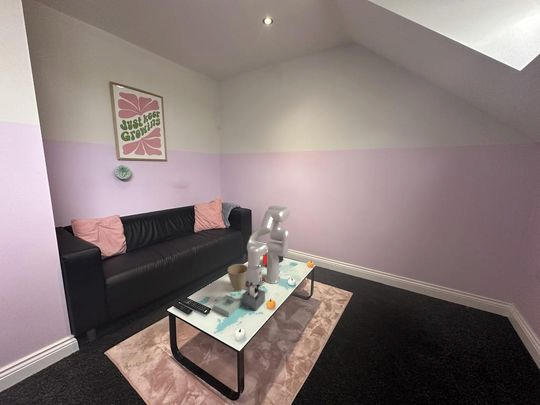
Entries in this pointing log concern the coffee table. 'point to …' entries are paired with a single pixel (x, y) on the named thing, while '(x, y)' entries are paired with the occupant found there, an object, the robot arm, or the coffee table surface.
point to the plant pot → (237, 276)
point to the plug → (252, 290)
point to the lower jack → (227, 305)
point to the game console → (266, 259)
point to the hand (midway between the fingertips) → (253, 291)
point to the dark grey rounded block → (253, 300)
